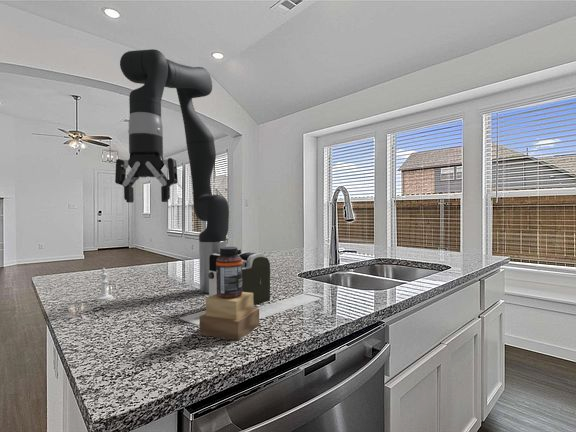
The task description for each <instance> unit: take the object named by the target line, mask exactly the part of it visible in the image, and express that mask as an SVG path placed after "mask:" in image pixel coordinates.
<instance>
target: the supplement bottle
mask: <svg viewBox="0 0 576 432" xmlns="http://www.w3.org/2000/svg"><path fill="white" fill-rule="evenodd" d="M237 253H238V246H226V247H221V248H220V256H219V257H218V258H217V259H216V283H217V284H216V285H217V296H218V297H220V298H236V297H239V296H240V295H242V259H241V257H240V256H238V255H237Z"/></svg>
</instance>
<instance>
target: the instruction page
mask: <svg viewBox="0 0 576 432" xmlns="http://www.w3.org/2000/svg"><path fill="white" fill-rule="evenodd" d="M204 314H206V309H205V310H203V311H198V312H196V313H192V314H189V315H185V316H182V317H179V320H180V321H181V320H182V321H185V322H187V323H190V324H192V325H196V326H200V316H202V315H204Z"/></svg>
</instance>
